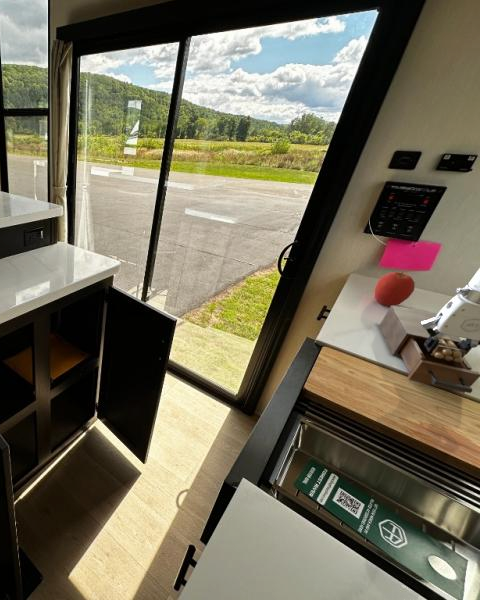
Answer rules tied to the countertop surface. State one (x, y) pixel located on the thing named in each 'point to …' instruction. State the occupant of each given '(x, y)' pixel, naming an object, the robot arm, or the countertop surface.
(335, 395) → the countertop surface
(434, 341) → the robot arm
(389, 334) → the cabinet
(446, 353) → the bundle
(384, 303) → the apple
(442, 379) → the drawer
